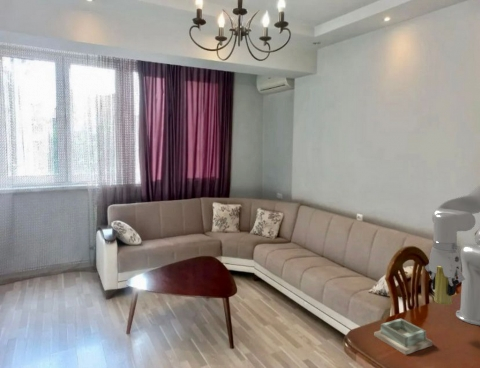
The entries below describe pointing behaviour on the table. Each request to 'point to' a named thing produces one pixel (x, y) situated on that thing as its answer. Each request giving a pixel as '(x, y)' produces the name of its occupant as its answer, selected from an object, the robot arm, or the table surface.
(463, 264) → the robot arm
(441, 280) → the vase
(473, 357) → the table surface
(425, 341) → the vase stand
